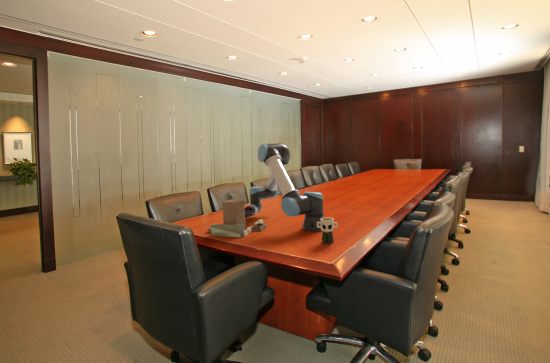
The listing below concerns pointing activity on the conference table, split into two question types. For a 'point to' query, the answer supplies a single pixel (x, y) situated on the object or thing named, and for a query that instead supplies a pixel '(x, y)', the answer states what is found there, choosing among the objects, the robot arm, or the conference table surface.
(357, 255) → the conference table surface
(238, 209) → the wooden block
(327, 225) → the character mug
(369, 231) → the conference table surface
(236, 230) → the tray
